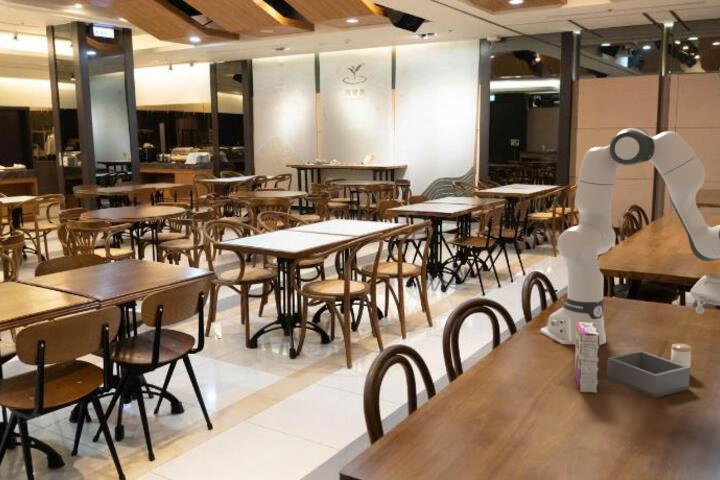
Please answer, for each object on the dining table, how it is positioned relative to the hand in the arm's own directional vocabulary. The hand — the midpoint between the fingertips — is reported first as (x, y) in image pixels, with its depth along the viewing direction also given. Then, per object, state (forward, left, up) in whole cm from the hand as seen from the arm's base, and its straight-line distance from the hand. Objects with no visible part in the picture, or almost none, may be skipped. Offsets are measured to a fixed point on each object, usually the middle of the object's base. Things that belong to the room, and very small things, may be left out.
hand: (713, 315), depth 189 cm
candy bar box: (-6, -43, -15) cm, 46 cm away
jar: (0, -13, -15) cm, 20 cm away
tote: (+1, -27, -15) cm, 31 cm away
